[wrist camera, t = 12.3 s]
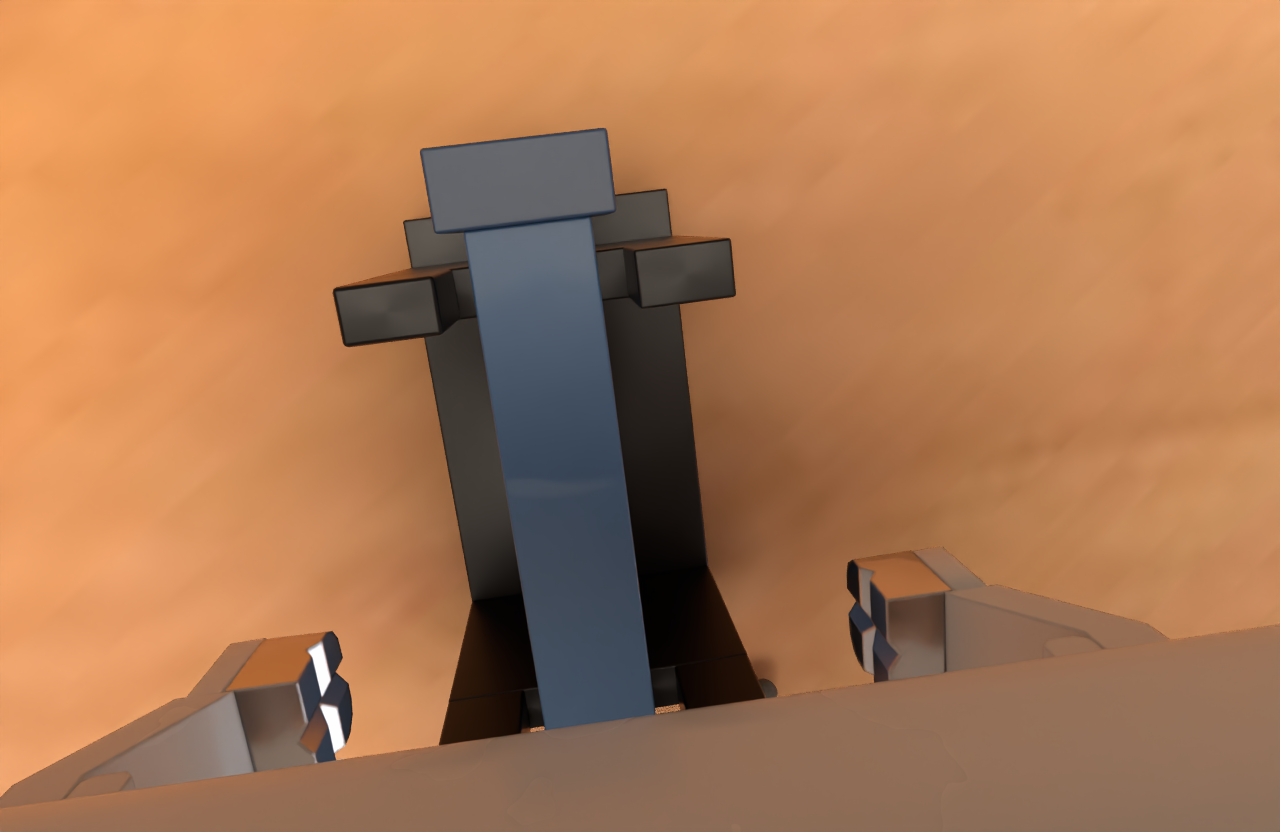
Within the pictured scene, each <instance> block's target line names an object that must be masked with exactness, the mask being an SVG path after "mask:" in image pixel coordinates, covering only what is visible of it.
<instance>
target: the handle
mask: <svg viewBox="0 0 1280 832" xmlns="http://www.w3.org/2000/svg"><path fill="white" fill-rule="evenodd" d="M420 155H421V161H422V166H423V172H424V178H425V184H426V190H427V195H428V201H429V207H430V213H431V218H432V224H433V230H434V232H435V233H436V234H453V233H464V234H463V235H464V241H465V247H466V253H467V259H468V265H469V271H470V277H471V284H472V290H473V296H474V302H475V308H476V314H477V320H478V326H479V332H480V338H481V344H482V350H483V356H484V362H485V368H486V375H487V381H488V387H489V393H490V399H491V405H492V411H493V417H494V423H495V429H496V435H497V441H498V447H499V453H500V459H501V465H502V472H503V478H504V484H505V490H506V496H507V502H508V508H509V514H510V520H511V526H512V532H513V538H514V544H515V550H516V556H517V563H518V569H519V575H520V581H521V587H522V593H523V599H524V605H525V611H526V617H527V623H528V629H529V635H530V641H531V647H532V653H533V660H534V666H535V672H536V678H537V684H538V690H539V696H540V702H541V708H542V714H543V720H544V726H545V730H550V729H557V728H564V727H571V726H577V725H584V724H591V723H598V722H605V721H612V720H619V719H626V718H633V717H640V716H647V715H654V714H655V706H654V698H653V690H652V683H651V675H650V667H649V660H648V652H647V644H646V636H645V629H644V621H643V613H642V605H641V598H640V590H639V582H638V574H637V567H636V559H635V551H634V543H633V536H632V528H631V520H630V512H629V505H628V497H627V489H626V482H625V474H624V466H623V458H622V451H621V443H620V435H619V427H618V420H617V412H616V404H615V396H614V389H613V381H612V373H611V365H610V358H609V350H608V342H607V335H606V327H605V319H604V311H603V304H602V296H601V288H600V280H599V273H598V265H597V257H596V249H595V242H594V234H593V226H592V219H591V217H597V216H605V215H608V214H611V213H614V212H616V209H617V207H616V199H615V190H614V182H613V174H612V166H611V158H610V149H609V141H608V133H607V130H606V128H597V129H589V130H580V131H571V132H563V133H554V134H545V135H536V136H528V137H519V138H510V139H502V140H493V141H484V142H475V143H467V144H458V145H449V146H441V147H432V148H423V149H421V151H420Z"/></svg>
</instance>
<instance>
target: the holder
mask: <svg viewBox="0 0 1280 832" xmlns="http://www.w3.org/2000/svg"><path fill="white" fill-rule="evenodd" d="M615 199H616V207H617V209H616V212H614V213H611V214H608V215H605V216H597V217H591V219H592V226H593V234H594V242H595V249H596V257H597V265H598V273H599V280H600V288H601V296H602V304H603V311H604V319H605V327H606V335H607V342H608V350H609V358H610V365H611V373H612V381H613V389H614V396H615V404H616V412H617V420H618V427H619V435H620V443H621V451H622V458H623V466H624V474H625V482H626V489H627V497H628V505H629V512H630V520H631V528H632V536H633V543H634V551H635V559H636V567H637V574H638V582H639V590H640V598H641V605H642V613H643V621H644V629H645V636H646V644H647V652H648V660H649V667H650V675H651V683H652V690H653V698H654V706H655V708H658V707H664V706H670V705H676V704H679V706H680V710H688V709H695V708H702V707H709V706H716V705H723V704H730V703H737V702H744V701H751V700H758V699H765V698H766V696H765V694H764V692H763V690H762V687H761V685H760V683H759V681H758V678H757V676H756V674H755V671H754V669H753V667H752V665H751V662H750V660H749V658H748V656H747V653H746V650H745V648H744V646H743V644H742V641H741V639H740V637H739V635H738V632H737V630H736V628H735V626H734V623H733V621H732V619H731V617H730V614H729V612H728V610H727V607H726V605H725V603H724V601H723V598H722V596H721V594H720V592H719V589H718V587H717V585H716V583H715V580H714V578H713V576H712V574H711V571H710V569H709V567H708V560H707V551H706V542H705V533H704V524H703V515H702V505H701V496H700V487H699V478H698V469H697V459H696V450H695V441H694V432H693V423H692V414H691V404H690V395H689V386H688V377H687V368H686V359H685V349H684V340H683V331H682V322H681V313H680V304H684V303H692V302H700V301H707V300H715V299H723V298H730V297H734V296H735V295H736V289H735V278H734V267H733V257H732V246H731V240H730V238H718V237H694V236H672V230H671V221H670V212H669V203H668V194H667V189H659V190H651V191H642V192H634V193H626V194H618V195H615ZM403 224H404V229H405V235H406V240H407V246H408V251H409V257H410V262H411V268H410V269H406V270H402V271H398V272H394V273H390V274H386V275H382V276H378V277H374V278H371V279H367V280H363V281H359V282H355V283H352V284H348V285H344V286H340V287H336V288H335V289H333V297H334V302H335V306H336V311H337V316H338V321H339V326H340V331H341V336H342V340H343V344H344V345H345V346H346V347H355V346H363V345H370V344H378V343H386V342H393V341H401V340H408V339H416V338H424V339H425V345H426V350H427V356H428V361H429V367H430V372H431V378H432V383H433V389H434V394H435V400H436V405H437V411H438V416H439V422H440V427H441V433H442V438H443V444H444V449H445V455H446V460H447V466H448V471H449V477H450V482H451V488H452V493H453V498H454V504H455V509H456V515H457V520H458V526H459V531H460V537H461V542H462V548H463V553H464V559H465V564H466V570H467V575H468V581H469V586H470V592H471V597H472V605H471V609H470V614H469V618H468V622H467V626H466V631H465V635H464V639H463V643H462V648H461V652H460V656H459V660H458V665H457V669H456V673H455V677H454V681H453V686H452V690H451V694H450V698H449V704H448V708H447V712H446V717H445V721H444V725H443V729H442V733H441V738H440V742H439V745H446V744H453V743H460V742H467V741H474V740H480V739H487V738H494V737H501V736H508V735H515V734H522V733H529V732H530V729H531V728H535V727H541V726H544V720H543V714H542V708H541V702H540V696H539V690H538V684H537V678H536V672H535V666H534V660H533V653H532V647H531V641H530V635H529V629H528V623H527V617H526V611H525V605H524V599H523V593H522V587H521V581H520V575H519V569H518V563H517V556H516V550H515V544H514V538H513V532H512V526H511V520H510V514H509V508H508V502H507V496H506V490H505V484H504V478H503V472H502V465H501V459H500V453H499V447H498V441H497V435H496V429H495V423H494V417H493V411H492V405H491V399H490V393H489V387H488V381H487V375H486V368H485V362H484V356H483V350H482V344H481V338H480V332H479V326H478V320H477V314H476V308H475V302H474V296H473V290H472V284H471V277H470V271H469V265H468V259H467V253H466V247H465V241H464V235H463V234H464V233H453V234H436V233H435V232H434V230H433V224H432V218H431V217H429V218H421V219H412V220H405V221H404V222H403Z"/></svg>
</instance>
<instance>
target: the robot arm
mask: <svg viewBox="0 0 1280 832" xmlns="http://www.w3.org/2000/svg"><path fill="white" fill-rule="evenodd" d="M847 589H848V590H849V591H850V593H851V594H852V595H853V597H854V598H855V600H856V603H855V604H854V606H853V607H852V609H851V611H850V612H849V626H850V635H851V640H852V644H853V649H854V652H855V655H856V657H857V660H858V662H859V664H860V665H861V667H862V668H863V670H864V671H865V672H867V673H870V674H872V675H874V683H869V684H862V685H855V686H848V687H841V688H834V689H827V690H820V691H813V692H806V693H799V694H792V695H785V696H778V697H771V698H765V699H758V700H751V701H744V702H737V703H730V704H723V705H716V706H709V707H702V708H695V709H688V710H681V711H674V712H668V713H661V714H654V715H647V716H640V717H633V718H626V719H619V720H612V721H605V722H598V723H591V724H584V725H577V726H571V727H564V728H557V729H550V730H543V731H536V732H529V733H522V734H515V735H508V736H501V737H494V738H487V739H480V740H474V741H467V742H460V743H453V744H446V745H439V746H432V747H425V748H418V749H411V750H404V751H397V752H390V753H383V754H377V755H370V756H363V757H356V758H349V759H342V760H336V758H335V753H336V752H337V751H339V750H340V749H341V748H343V747H344V746H345V745H346V743H347V740H348V738H349V735H350V732H351V724H352V715H353V713H352V699H351V694H350V689H349V684H348V683H347V682H346V681H345V680H344V679H343V678H342V677H340V676H339V675H338V674H337V673H336V670H337V668H338V666H339V664H340V662H341V660H342V658H343V657H342V653H341V649H340V645H339V641H338V638H337V636H336V635H335V634H334V633H333V631H329V632H321V633H312V634H304V635H295V636H287V637H279V638H270V639H266V638H262V639H256V640H250V641H244V642H238V643H232V644H230V645H229V646H228V647H227V648H226V650H225V651H224V652H223V653H222V655H221V656H220V657H219V658H218V659H217V661H216V662H215V663H214V664H213V666H212V667H211V668H210V669H209V670H208V672H207V673H206V674H205V675H204V676H203V678H202V679H201V680H200V681H199V683H198V684H197V685H196V686H195V687H194V689H193V690H192V691H191V692H190V694H189V695H188V696H187V697H186V698H179V699H175V700H173V701H171V702H169V703H167V704H165V705H163V706H161V707H159V708H158V709H156V710H154V711H152V712H150V713H148V714H146V715H144V716H142V717H141V718H139V719H137V720H135V721H133V722H131V723H129V724H127V725H126V726H124V727H122V728H120V729H118V730H116V731H114V732H112V733H110V734H109V735H107V736H105V737H103V738H101V739H99V740H97V741H95V742H93V743H92V744H90V745H88V746H86V747H84V748H82V749H80V750H78V751H76V752H75V753H73V754H71V755H69V756H67V757H65V758H63V759H61V760H59V761H58V762H56V763H54V764H52V765H50V766H48V767H46V768H44V769H42V770H41V771H39V772H37V773H35V774H33V775H31V776H29V777H27V778H25V779H24V780H22V781H20V782H18V783H16V784H14V785H12V786H11V787H10V788H9V789H8V790H7V791H6V792H5V793H4V794H3V795H2V796H1V797H0V832H1280V624H1278V625H1271V626H1264V627H1257V628H1250V629H1243V630H1236V631H1229V632H1222V633H1215V634H1208V635H1202V636H1195V637H1188V638H1181V639H1174V640H1170V639H1169V638H1167V637H1166V636H1164V635H1163V634H1162V633H1160V632H1159V631H1157V630H1156V629H1155V628H1153V627H1152V626H1150V625H1149V624H1147V623H1143V622H1139V621H1135V620H1131V619H1127V618H1124V617H1120V616H1116V615H1112V614H1108V613H1104V612H1101V611H1097V610H1093V609H1089V608H1085V607H1081V606H1077V605H1074V604H1070V603H1066V602H1062V601H1058V600H1054V599H1050V598H1047V597H1043V596H1039V595H1035V594H1031V593H1027V592H1023V591H1020V590H1016V589H1012V588H1008V587H1004V586H1000V585H991V586H987V585H986V584H985V583H984V582H983V581H981V580H980V579H979V578H978V577H977V576H976V575H975V574H973V573H972V572H971V571H970V570H969V569H968V568H966V567H965V566H964V565H963V564H962V563H961V562H960V561H958V560H957V559H956V558H955V557H954V556H953V555H952V554H950V553H949V552H948V551H947V550H946V549H945V548H944V547H933V548H927V549H921V550H916V551H911V550H910V551H904V552H898V553H891V554H885V555H879V556H873V557H866V558H860V559H854V560H851V561H850V562H848V565H847Z"/></svg>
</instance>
